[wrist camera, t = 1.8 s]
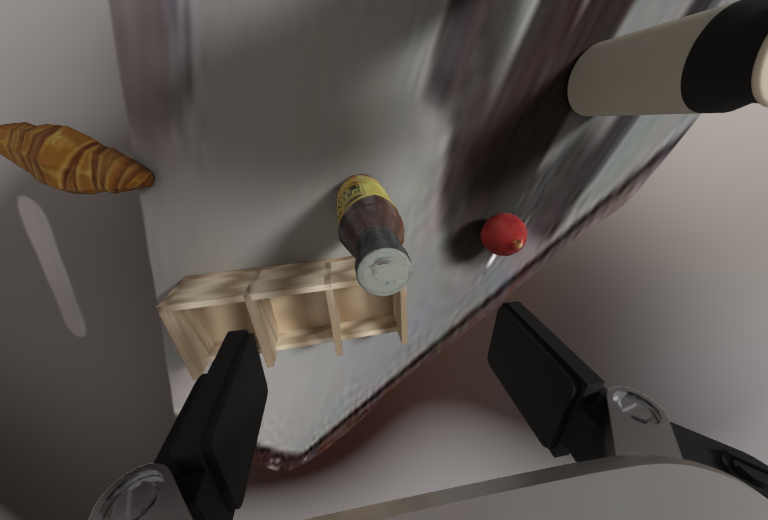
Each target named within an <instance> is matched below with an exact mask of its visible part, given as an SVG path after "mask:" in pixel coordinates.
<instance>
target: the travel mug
mask: <svg viewBox="0 0 768 520" xmlns="http://www.w3.org/2000/svg"><path fill="white" fill-rule="evenodd" d="M568 100H569V103H570V106H571V107H572V109H573V110H574V111H575V112H576V113H577V114H579V115H582V116H617V115H654V114H692V113H725V112H730V111H733V110H736V109H739V108H741V107H743V106H746V105H748V104H751V103H759V104H761V105H763V106H765V107H768V0H740V1H736V2H733V3H730V4H726V5H723V6H720V7H716V8H713V9H710V10H706V11H703V12H700V13H696V14H693V15H690V16H686V17H683V18H680V19H676V20H673V21H670V22H666V23H663V24H660V25H656V26H653V27H650V28H646V29H643V30H640V31H636V32H633V33H630V34H626V35H623V36H620V37H616V38H613V39H610V40H606V41H603V42H600V43H597V44H595V45H593V46H592V47H590V48H589V49H588V50H586V51H585V52H584V53H583V54H582V56H581V57H580V58H579V59H578V61H577V62H576V64H575V66H574V68H573V70H572V72H571V75H570V78H569V82H568Z"/></svg>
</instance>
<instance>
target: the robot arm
mask: <svg viewBox="0 0 768 520" xmlns="http://www.w3.org/2000/svg"><path fill="white" fill-rule="evenodd" d="M488 363H489V365H490V367H491V368H492V370H493V371H494V373H495V374H496V376H497V377H498V379H499V380H500V382H501V383H502V385H503V386H504V388H505V390H506V391H507V393H508V394H509V396H510V397H511V399H512V400H513V402H514V403H515V405H516V406H517V407H518V409H519V411H520V412H521V414H522V415H523V417H524V418H525V420H526V421H527V423H528V424H529V426H530V427H531V429H532V430H533V432H534V433H535V435H536V436H537V438H538V439H539V441H540V442H541V444H542V445H543V446H544V447H546V448H548V449H549V450H550V452H551V453H552V455H553V456H554V457H560V456H565V455H569V453H570V454H571V455H572V456H573V458H574V459H575V463H572V464H566V465H561V466H556V467H551V468H546V469H541V470H536V471H532V472H526V473H522V474H517V475H512V476H507V477H502V478H497V479H492V480H488V481H483V482H478V483H473V484H468V485H463V486H459V487H454V488H450V489H445V490H440V491H435V492H430V493H425V494H421V495H416V496H412V497H407V498H402V499H397V500H392V501H388V502H383V503H378V504H374V505H369V506H365V507H360V508H355V509H351V510H346V511H341V512H337V513H332V514H327V515H323V516H318V517H314V518H309V519H305V520H768V466H767V465H766V464H764V463H762V462H761V461H759V460H757V459H756V458H754V457H752V456H750V455H748V454H746V453H744V452H742V451H740V450H737V449H735V448H732V447H730V446H728V445H725V444H723V443H720V442H718V441H716V440H713V439H710V438H708V437H705V436H703V435H701V434H698V433H696V432H694V431H691V430H689V429H686V428H684V427H682V426H679V425H676V424H674V423H672V422H670V421H669V418H668V417H667V415H666V413H665V411H664V410H663V409H662V408H661V407H660V406H659V405H658V404H657V403H656V402H654V401H653V400H652V399H651V398H649V397H647V396H646V395H644V394H642V393H641V392H638V391H636V390H633V389H631V388H626V387H621V386H615V387H612V388H610V389H609V390H607V389H606V388H605V387H603V385H604V383H605V382H604V381H603V380H602V379H601V378H600V377H599V376H598V375H597V374H596V373H595V372H594V371H593V370H592V369H590V367H588V366H587V365H586V364H585V363H584V362H583V361H582V360H581V359H580V358H579V357H578V356H577V355H576V354H575V353H574V352H572V351H571V350H570V349H569V348H568V347H567V346H566V345H565V344H564V343H563V342H562V341H561V340H559V338H558V337H556V336H555V335H554V334H553V333H552V332H551V331H550V330H549V329H548V328H547V327H546V326H545V325H544V324H543V323H541V322H540V321H539V320H538V319H537V318H536V317H535V316H534V315H533V314H532V313H531V312H530V311H529V310H528V309H526V307H524V306H523V305H522V304H521V303H520V302H517V301H516V302H507V303H503V304H502V306H501V307H499V309H498V312H497V317H496V321H495V325H494V330H493V334H492V339H491V343H490V348H489V352H488ZM267 393H268V388H267V383H266V379H265V375H264V371H263V367H262V363H261V359H260V355H259V351H258V348H257V344H256V340H255V336H254V334H253V333H249V332H248V330H246V329H245V330H236V331H229V332H228V333H227V334H226V336H225V338H224V340H223V342H222V344H221V346H220V348H219V350H218V353H217V355H216V357H215V359H214V361H213V363H212V365H211V367H210V369H209V371H208V373H207V374H202V375H201V376H199V378H198V379H197V381H196V383H195V384H194V386H193V388H192V390H191V392H190V394H189V396H188V398H187V400H186V402H185V404H184V406H183V408H182V409H181V411H180V413H179V415H178V417H177V419H176V421H175V423H174V425H173V427H172V429H171V431H170V433H169V435H168V436H167V438H166V440H165V442H164V444H163V446H162V448H161V450H160V452H159V454H158V456H157V458H156V459H155V461H154V463H152V464H146V465H143V466H141V467H138V468H136V469H134V470H132V471H130V472H129V473H127V474H125V475H124V476H122V477H121V478H120V479H119V480H117V481H116V482H115V483H114V484H112V486H111V487H109V489H108V490H107V491H106V492H105V493H104V494H103V495H102V496H101V498H100V499H99V500H98V502H97V503H96V505H95V506H94V508H93V510H92V513H91V515H90V518H89V520H233V516H234V512H235V509H239V508H240V507H241V505H242V503H243V499H244V495H245V491H246V486H247V482H248V478H249V473H250V469H251V465H252V460H253V456H254V452H255V447H256V443H257V439H258V434H259V430H260V426H261V421H262V417H263V413H264V408H265V404H266V399H267Z"/></svg>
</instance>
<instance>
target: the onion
mask: <svg viewBox="0 0 768 520" xmlns="http://www.w3.org/2000/svg"><path fill="white" fill-rule="evenodd" d="M480 236H481V241H482V243H483V245H484V246H485V247H486V249H487V250H488V251H490V252H492V253H494V254H496V255H500V256H509V255H512V254H514V253H517V252H518V251H519V250H521V249H522V248H523V246H524V244H525V243H526V239H527V229H526V226H525V224H524V223H523V222H522V221H521V220H520V218H518V217H517V216H515V215H513V214H510V213H499V214H496V215H494V216H491V217H490V218H489V219H488V220H487V221H486V222H485V224H484V225H483V227H482V230H481V235H480Z"/></svg>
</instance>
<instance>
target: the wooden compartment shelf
mask: <svg viewBox="0 0 768 520" xmlns="http://www.w3.org/2000/svg"><path fill="white" fill-rule="evenodd" d="M355 260H356V259H355V258H354V257H353V256H349V257H341V258H333V259H325V260H317V261H309V262H301V263H292V264H284V265H276V266H268V267H260V268H252V269H244V270H235V271H227V272H219V273H211V274H203V275H195V276H187V277H184V278H183V279H182V280H181V281H180V282H179V283H178V284H177V285H176V286H175V287H174V288H173V290H172V291H171V292H170V293H169V294H168V295H167V296H166V297H165V298H164V299H163V300H162V301H161V302H160V303H159V304H158V305H157V306H156V309H157V311H158V313H159V315H160V317H161V319H162V321H163V323H164V324H165V326H166V328H167V330H168V332H169V334H170V336H171V338H172V340H173V342H174V344H175V346H176V348H177V350H178V352H179V353H180V355H181V357H182V359H183V361H184V363H185V365H186V367H187V369H188V371H189V373H190V375H191V377H192V379H193V380H196V379H198V378H199V376H201V375H202V374H203V372H204V370H205V368H206V366H207V364H208V362H209V361H214V359H215V357H216V355H217V353H218V350H219V348H220V346H221V344H222V342H223V340H224V338H225V336H226V334H227V333H228V332H229V331H236V330H245V329H246V330H248V332H249V333H253V334H254V336H255V340H256V344H257V348H258V351H259V353H263V356H264V359H265V362H266V365H267V368H268V367H273V366H274V362H275V358H276V354H277V350H283V349H290V348H296V347H302V346H308V345H314V344H321V343H327V342H333V341H334V343H335V348H336V354H337V356H339V355H343V353H342V340H346V339H352V338H358V337H364V336H370V335H377V334H383V333H389V332H395V331H398V334H399V337H400V340H401V343H402V345H405V344H408V337H407V292H406V286H405V287H404V288H403V289H402V290H400V291H399V292H397V293H395V294H392V295H389V296H375V295H372V294H370V293H368V292H366V291H365V290H364V289H363V288H362V287H361V286H360V285H359V283H358V280H357V277H356V272H355Z"/></svg>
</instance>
